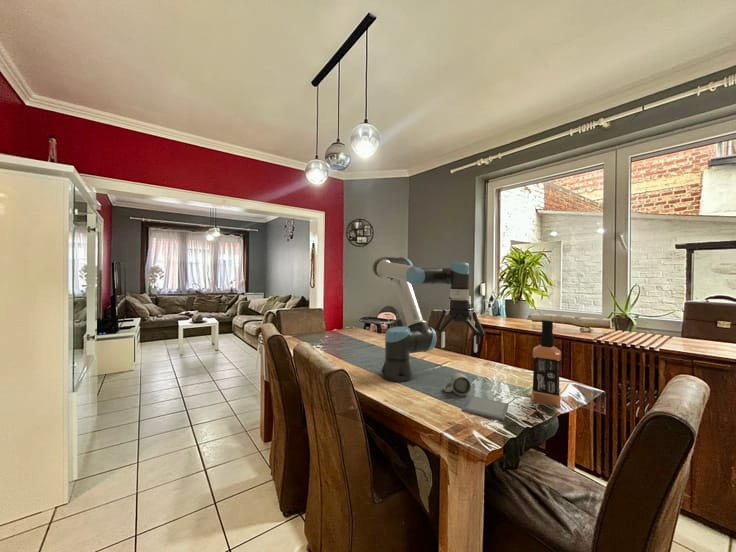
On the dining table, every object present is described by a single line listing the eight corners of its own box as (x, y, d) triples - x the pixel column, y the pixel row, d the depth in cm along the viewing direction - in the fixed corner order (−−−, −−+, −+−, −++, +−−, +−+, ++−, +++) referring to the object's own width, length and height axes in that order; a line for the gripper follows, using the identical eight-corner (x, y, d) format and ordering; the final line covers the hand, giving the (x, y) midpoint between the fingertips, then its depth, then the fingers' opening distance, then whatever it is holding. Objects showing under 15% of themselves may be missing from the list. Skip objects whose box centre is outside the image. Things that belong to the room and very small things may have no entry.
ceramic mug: (466, 388, 133) (466, 370, 133) (471, 396, 125) (471, 377, 125) (442, 387, 134) (441, 370, 134) (445, 395, 126) (444, 376, 126)
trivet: (462, 410, 111) (462, 408, 111) (470, 397, 123) (470, 395, 123) (503, 421, 104) (503, 418, 104) (508, 405, 116) (508, 403, 116)
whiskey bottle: (560, 407, 115) (562, 323, 114) (530, 401, 120) (532, 320, 119) (560, 398, 124) (561, 319, 123) (532, 392, 129) (534, 317, 128)
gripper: (428, 298, 132) (427, 347, 132) (489, 301, 119) (488, 355, 119) (433, 297, 138) (433, 343, 138) (492, 300, 125) (491, 351, 125)
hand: (458, 349), depth 129 cm, fingers open, 13 cm apart
